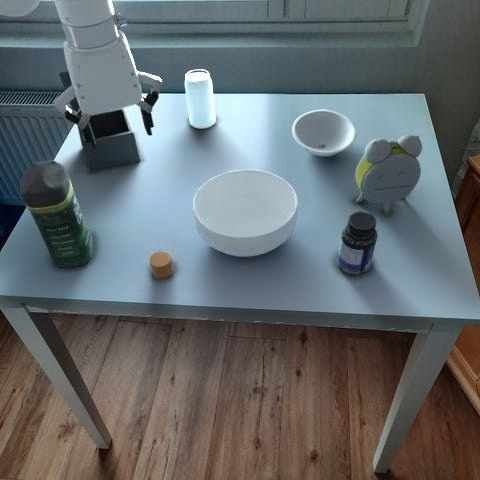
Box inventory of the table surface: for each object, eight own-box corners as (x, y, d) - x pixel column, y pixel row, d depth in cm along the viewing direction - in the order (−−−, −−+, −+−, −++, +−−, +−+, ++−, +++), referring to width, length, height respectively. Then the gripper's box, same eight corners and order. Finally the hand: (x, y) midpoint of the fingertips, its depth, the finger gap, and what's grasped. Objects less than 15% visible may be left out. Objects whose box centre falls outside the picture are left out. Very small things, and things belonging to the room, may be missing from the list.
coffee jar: (94, 267, 91) (60, 187, 76) (52, 272, 90) (10, 193, 75) (96, 233, 96) (65, 153, 82) (57, 238, 96) (19, 158, 81)
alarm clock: (402, 192, 100) (421, 126, 88) (414, 213, 96) (435, 147, 84) (349, 199, 99) (360, 134, 87) (359, 220, 95) (372, 155, 83)
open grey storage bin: (141, 162, 111) (133, 132, 104) (92, 174, 109) (81, 143, 102) (132, 137, 117) (124, 106, 111) (85, 147, 115) (75, 117, 109)
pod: (155, 282, 88) (151, 269, 85) (151, 267, 90) (147, 254, 87) (176, 276, 88) (173, 263, 85) (171, 262, 91) (168, 248, 88)
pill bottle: (358, 249, 90) (369, 204, 82) (376, 271, 87) (388, 225, 78) (330, 259, 89) (337, 214, 80) (346, 281, 86) (356, 236, 77)
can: (215, 115, 122) (210, 67, 112) (215, 129, 118) (211, 81, 108) (190, 117, 122) (183, 69, 112) (190, 131, 118) (183, 83, 108)
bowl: (221, 194, 102) (218, 161, 95) (308, 215, 97) (311, 180, 90) (180, 255, 91) (174, 222, 85) (275, 282, 86) (276, 249, 80)
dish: (358, 171, 105) (361, 151, 101) (293, 173, 105) (294, 153, 101) (348, 127, 115) (350, 108, 111) (289, 129, 116) (290, 110, 112)
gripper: (144, 9, 71) (164, 116, 85) (28, 32, 68) (68, 138, 82) (155, 28, 67) (175, 137, 81) (32, 53, 64) (74, 162, 78)
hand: (121, 138), depth 81 cm, fingers open, 9 cm apart
